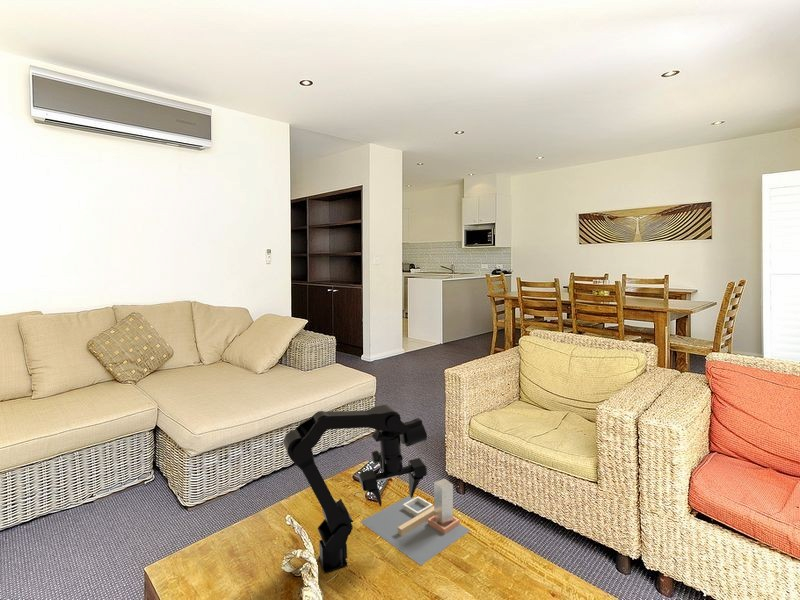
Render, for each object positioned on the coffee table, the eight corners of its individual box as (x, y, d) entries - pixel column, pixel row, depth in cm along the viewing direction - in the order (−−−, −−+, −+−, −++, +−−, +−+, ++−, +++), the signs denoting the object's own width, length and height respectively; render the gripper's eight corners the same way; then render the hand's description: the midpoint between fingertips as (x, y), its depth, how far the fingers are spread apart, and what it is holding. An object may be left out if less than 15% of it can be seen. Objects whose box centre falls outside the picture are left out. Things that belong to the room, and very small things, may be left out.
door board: (420, 570, 114) (420, 558, 114) (360, 526, 134) (359, 515, 133) (470, 535, 129) (470, 524, 128) (409, 499, 148) (409, 489, 147)
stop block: (442, 529, 129) (441, 488, 127) (434, 522, 132) (434, 482, 131) (452, 525, 131) (452, 484, 130) (444, 518, 134) (444, 478, 133)
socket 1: (417, 517, 135) (417, 513, 135) (402, 508, 140) (402, 504, 140) (432, 509, 139) (432, 504, 139) (417, 500, 144) (417, 496, 144)
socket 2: (444, 534, 127) (444, 529, 127) (427, 524, 132) (427, 519, 132) (459, 524, 131) (459, 519, 131) (442, 514, 136) (442, 510, 136)
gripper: (413, 431, 133) (417, 478, 135) (352, 445, 127) (358, 493, 130) (425, 448, 122) (430, 498, 125) (360, 463, 117) (366, 516, 119)
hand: (395, 501), depth 125 cm, fingers open, 9 cm apart
